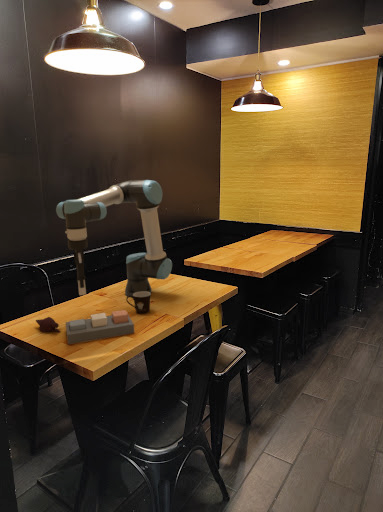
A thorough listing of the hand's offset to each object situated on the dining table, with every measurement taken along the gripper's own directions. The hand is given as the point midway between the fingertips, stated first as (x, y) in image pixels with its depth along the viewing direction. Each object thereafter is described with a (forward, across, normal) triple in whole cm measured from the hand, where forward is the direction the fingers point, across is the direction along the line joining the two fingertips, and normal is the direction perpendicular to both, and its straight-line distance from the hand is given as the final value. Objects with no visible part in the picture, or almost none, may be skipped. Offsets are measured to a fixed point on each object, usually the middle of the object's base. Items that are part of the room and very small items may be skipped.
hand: (82, 294), depth 153 cm
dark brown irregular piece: (+19, -11, -16) cm, 27 cm away
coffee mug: (+19, -17, +27) cm, 38 cm away
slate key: (+16, 0, -3) cm, 16 cm away
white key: (+15, 0, +6) cm, 16 cm away
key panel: (+19, 0, +6) cm, 20 cm away
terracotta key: (+15, 0, +15) cm, 21 cm away
